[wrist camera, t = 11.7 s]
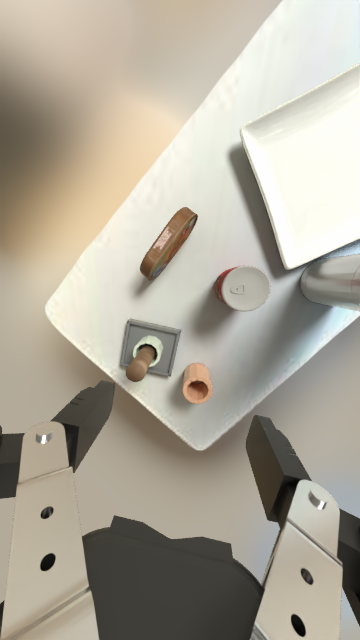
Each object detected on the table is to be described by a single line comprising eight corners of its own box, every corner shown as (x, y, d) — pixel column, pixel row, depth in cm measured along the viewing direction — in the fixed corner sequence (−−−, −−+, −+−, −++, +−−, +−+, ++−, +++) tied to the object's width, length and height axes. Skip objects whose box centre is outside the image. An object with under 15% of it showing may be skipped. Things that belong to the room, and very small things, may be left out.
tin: (155, 281, 45) (146, 281, 37) (143, 272, 45) (132, 270, 37) (198, 223, 42) (200, 209, 34) (186, 213, 42) (185, 197, 34)
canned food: (209, 276, 44) (215, 276, 34) (245, 262, 43) (263, 257, 33) (221, 309, 46) (230, 318, 35) (256, 296, 45) (276, 302, 34)
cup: (211, 366, 48) (215, 380, 41) (205, 388, 50) (208, 406, 43) (187, 360, 48) (186, 374, 41) (181, 383, 50) (180, 399, 43)
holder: (165, 338, 46) (162, 344, 43) (160, 362, 48) (157, 369, 44) (140, 333, 47) (135, 338, 43) (136, 356, 48) (131, 363, 44)
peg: (158, 343, 47) (146, 366, 34) (156, 355, 47) (142, 383, 35) (145, 340, 47) (127, 362, 34) (142, 352, 47) (124, 379, 35)
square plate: (233, 140, 39) (237, 125, 36) (380, 62, 36) (403, 36, 32) (279, 272, 44) (287, 271, 40) (414, 214, 40) (438, 207, 36)
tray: (180, 329, 47) (180, 331, 45) (171, 373, 49) (170, 376, 47) (130, 318, 47) (127, 320, 45) (122, 362, 49) (120, 365, 48)
